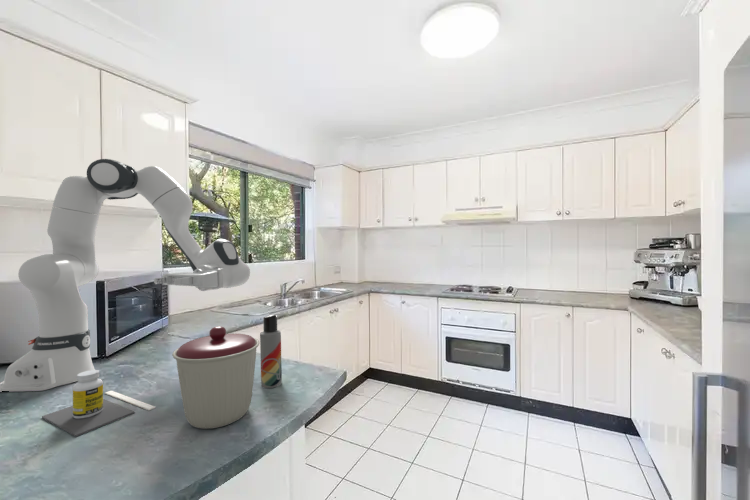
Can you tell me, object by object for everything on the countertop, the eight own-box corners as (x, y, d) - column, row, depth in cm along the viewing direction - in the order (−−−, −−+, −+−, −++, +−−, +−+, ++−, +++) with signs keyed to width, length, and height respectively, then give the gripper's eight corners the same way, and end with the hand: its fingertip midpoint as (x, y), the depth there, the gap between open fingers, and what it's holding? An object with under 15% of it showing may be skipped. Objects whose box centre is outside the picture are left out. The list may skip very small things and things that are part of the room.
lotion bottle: (273, 389, 89) (272, 317, 89) (256, 387, 91) (255, 316, 91) (285, 381, 94) (284, 313, 94) (269, 379, 96) (268, 312, 96)
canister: (199, 450, 62) (197, 341, 62) (159, 423, 73) (157, 330, 73) (276, 411, 77) (274, 323, 77) (233, 393, 88) (232, 315, 88)
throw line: (104, 393, 89) (104, 392, 89) (111, 391, 90) (111, 390, 90) (149, 410, 79) (149, 409, 79) (155, 408, 80) (155, 406, 80)
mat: (41, 417, 76) (41, 416, 76) (98, 398, 86) (98, 396, 86) (75, 436, 68) (75, 435, 68) (134, 413, 78) (134, 411, 78)
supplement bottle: (85, 420, 74) (84, 377, 74) (66, 418, 75) (65, 376, 75) (109, 408, 79) (108, 369, 79) (91, 407, 80) (90, 368, 80)
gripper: (187, 268, 114) (145, 270, 102) (226, 268, 105) (184, 271, 92) (188, 285, 114) (145, 290, 102) (226, 287, 105) (184, 293, 92)
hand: (164, 281), depth 97 cm, fingers open, 8 cm apart
